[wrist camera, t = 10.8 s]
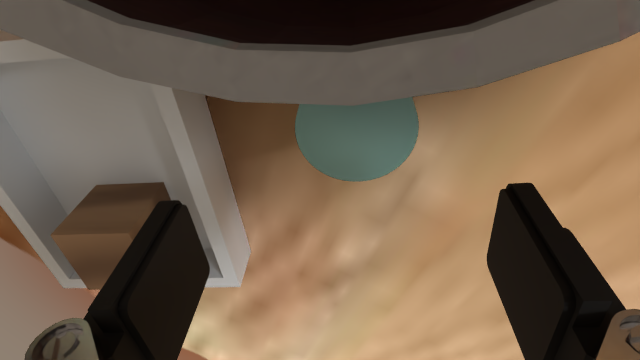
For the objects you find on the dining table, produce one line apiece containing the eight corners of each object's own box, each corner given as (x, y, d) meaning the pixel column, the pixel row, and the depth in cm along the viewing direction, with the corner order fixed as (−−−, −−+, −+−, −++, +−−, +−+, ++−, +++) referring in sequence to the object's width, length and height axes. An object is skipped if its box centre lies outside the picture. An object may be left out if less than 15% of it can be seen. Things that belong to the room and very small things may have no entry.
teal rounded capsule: (305, 27, 20) (286, 77, 14) (402, 19, 20) (421, 67, 14) (316, 114, 23) (303, 183, 17) (400, 109, 22) (415, 179, 17)
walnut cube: (96, 184, 27) (50, 235, 23) (163, 182, 26) (128, 233, 22) (124, 236, 30) (88, 289, 26) (186, 235, 29) (158, 289, 25)
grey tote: (-55, 32, 22) (-116, 52, 19) (179, 9, 20) (150, 27, 17) (89, 254, 32) (63, 288, 29) (250, 251, 30) (240, 287, 28)
